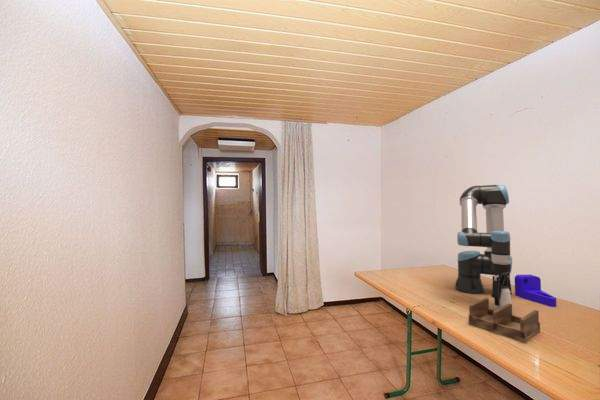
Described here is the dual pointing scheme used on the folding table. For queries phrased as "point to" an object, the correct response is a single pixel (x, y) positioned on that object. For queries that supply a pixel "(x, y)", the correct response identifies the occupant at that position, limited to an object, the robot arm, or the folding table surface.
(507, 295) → the can
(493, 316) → the rack
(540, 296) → the bracket
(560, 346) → the folding table surface
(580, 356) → the folding table surface
